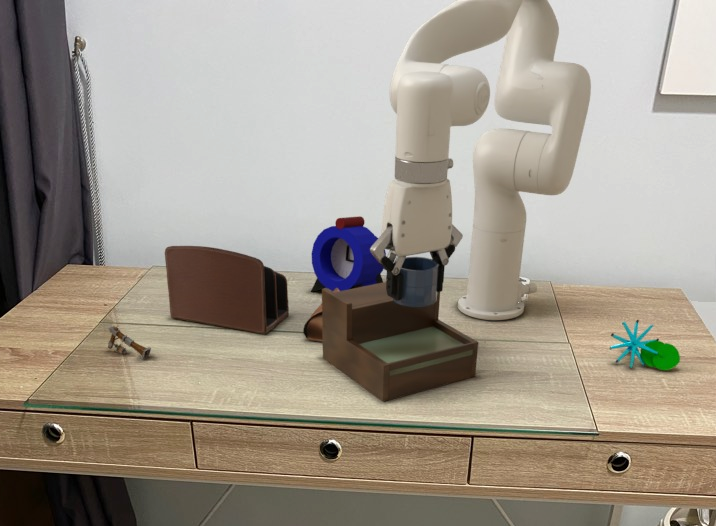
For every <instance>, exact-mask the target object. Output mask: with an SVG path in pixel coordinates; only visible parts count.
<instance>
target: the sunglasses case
mask: <svg viewBox="0 0 716 526" xmlns="http://www.w3.org/2000/svg"><path fill="white" fill-rule="evenodd" d="M339 291H340V290H339V289H338V288H335V289H334V291H333V292H339ZM302 328H303V329H302V331H303V335H304V337H305V338H306V340H308V341H313V342H316V343H317V342H318V343H323V334H322V303H320V305H319V306H318V307H317V308H316V309H315V310H314V311H313V313H312V314H311V315H310V317H309V318H308V319H307V320H306V322H305V324H304V326H303V327H302Z"/></svg>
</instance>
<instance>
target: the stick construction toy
mask: <svg viewBox="0 0 716 526" xmlns="http://www.w3.org/2000/svg"><path fill="white" fill-rule="evenodd" d="M639 322H640V320H639V319H636V320H635V323H634V328H633V332H632V330H631V329H630V327H629V326H628V325H627V323H626V322H625V321H622V323H621V325H623V327H624V329H625V332H626V334H627V336H628V338H629V339H627V338H624V337H622V336H619V335H616V334H615V333H614V332H612V333H611V334H610V337H611V338H614V339H615V340H618V341H619V342H621V343H620V344H615V345H612V346H609V348H608V349H609V351H610V350H613V349H621V348H626V349H625V350H624V351H623V353H621V355H619V356H618V358H617V359H616V360H615V364H618V363H619V362H620V361H621V360H622V359H623V358H624V357H625V356H626V355H628V354H629V353H630V361H629V362H630V363H629V369H632V368H633V366H634V361H635V357H637V359H638V361H639V362H640V363H641V365H642V367H646V366H647V367H649V368H652V369H654V368H655V369H657V370H659V371H669V370H672V369H674V368H675V367H677V366H678V365H679V364H680V362H681V356H680V355H681V354H680V352H679V349H677V347H675V345H674V344H672V343H667V342H665V343H664V342H663V341H660V339H659V338H656V339H649V340H642V339H644V337H645V336H646V335H647V334H648V333H649V332H650V331H651V330H652V328H653V327H654V324H650V326H648V327H647V328H646V329H645V330H644V331H643V332H642V333H641V334H640V335H639V336H638V330H639V329H638V328H639ZM641 340H642V341H641ZM639 349H640V350H639Z"/></svg>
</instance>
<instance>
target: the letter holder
mask: <svg viewBox="0 0 716 526" xmlns="http://www.w3.org/2000/svg"><path fill="white" fill-rule="evenodd" d="M164 260H165V270H166V271H165V272H166V281H167V282H166V283H167V290H168V291H167V293H168V300H169V301H168V302H169V303H168V304H169V315H170V318H171V319H175V320H181V321H188V322H193V323H199V324H204V325H210V326H217V327H221V328H226V329H232V330H236V331H237V330H238V331H243V332H248V333H255V334H260V335H265V336H266V335H267V334H268V333H269V332H270V331H271V330H272V329H274V328H276V327H277V326H278V325H279V324H280V323H281V322H283V321H284V320H285V319H287V318H288V317H289V307H290V306H289V293H288V292H289V290H288V279H287V277H286V276H285V275H284V274H282V273H280V272H277V271H275V270H274V269H273V268H271V267H269V266H265V265H264V262H263V261H262V260H261V259H259V258H257V257H255V256H251V255H248V254H244V253H241V252H237V251H232V250H228V249H222V248H217V247H210V246H201V245H169V246H167V247H165V249H164Z"/></svg>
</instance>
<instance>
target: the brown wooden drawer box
mask: <svg viewBox="0 0 716 526" xmlns="http://www.w3.org/2000/svg"><path fill="white" fill-rule="evenodd" d="M440 299H441V292H437V300H436V302H435V303H434V304H432V305H429V306H424V307H409V306H403V305H400V304H397V303H396V302H394V301H393V298H391V297H390V296H388V295H387V291H386V281H383V283H378V284H373V285H368V286H363V287H358V288H353V289H349V290H344V291H339V292H333V291H332V290H330V289H328V288H323V289H321V304H322V334H323V342H322V359H324V360H325V361H327V362H329V364H331V365H332V366H333V367H334V368H336V369H337V370H339V371H340V372H341V373H343V374H344V375H346V376H347V377H349V378H350V379H351V380H353V381H354V382H355V383H356V384H358V385H359V386H361V387H362V388H363V389H365V390H366V391H367V392H369V393H370V394H371V395H373V396H374V397H376V398H378V399H379V400H380V401H381V402H387V401H391V400H395V399H398V398H402V397H405V396H409V395H413V394H416V393H420V392H424V391H427V390H431V389H434V388H438V387H441V386H445V385H449V384H454V383H457V382H460V381H464V380H467V379H471V378H475V377H476V373H477V363H478V362H477V361H478V354H479V353H478V350H479V341H477V340H476V339H474V338H472V337H470V336H468V335H467V334H465V333H463V332H461V331H460V330H458V329H456V328H454V327H453V326H451V325H450V324H447V323H446V322H443V321H442V320H440V319H439V316H440V315H439V314H440Z"/></svg>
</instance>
